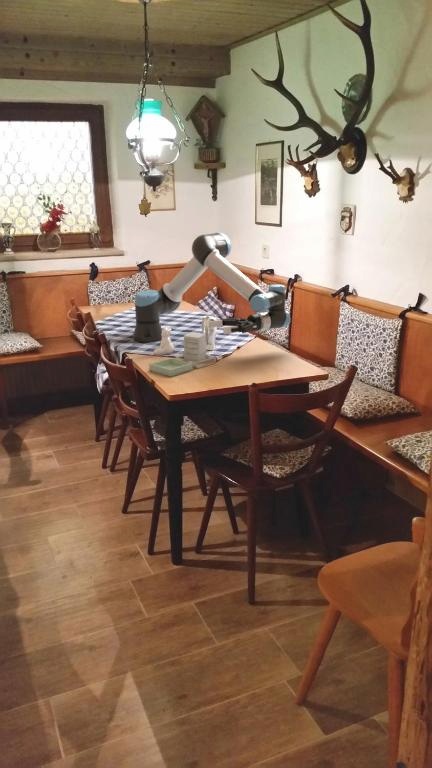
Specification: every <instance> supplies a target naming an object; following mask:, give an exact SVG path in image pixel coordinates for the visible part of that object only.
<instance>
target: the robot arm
mask: <svg viewBox="0 0 432 768" xmlns="http://www.w3.org/2000/svg"><path fill="white" fill-rule="evenodd" d="M231 245H232V243H231V241H230V238H229V237H228V236H227V235H226V234H225V233H221V232H214V233H209V234H208V233H207V234H201V235H198V236H197V237H195V238H194V240H193V242H192V245H191V253H192V258H190V259H189V261H188V262H187V263H186V264H185V266H183V267H182V269H180V271H179V272H178V273H177V274H176V275H175V276H174V277H173V278H172V280H171V281H170V282H166V283H164V284H163V285H162V287H161V288H159V289H158V290H156V289H145V290H140V291H138V292H137V293H136V294H135V296H134V307H135V308H134V311H135V326H134V331H133V333H132V339H133V341H135V342H139V343H140V342H141V343H153V342H159V341H160V342H161V340H162V336H161V334H162V331H163V329H162V326H161V323H160V316H161V315H164V314H168V313H172V312H175V311H176V310H177V309H179V307H180V306H181V303H182V302H181V301H182V300H183V295H184V293H186V292H187V291H188V290H189V288H191V286H192V285H193V284H194V283H195V282H196V281H197V280H198V279H199V278H200V277H201V276H202V275H203V273H204V272H205V271H207V269H209V270H210V271H212V272H213V273H214V274H215V275H217V277H219V278H220V279H221V280H223V281H224V283H226V284H228V285H229V286H230V287H231V288H232V289H233V290H234V291H236V292H237V293H238V294H239V295H241V297H243V298H244V299H245V300H246V301H248V303H249V306H250V308H251V310H252V311H253V312H254V313H252V314H249V315H248V316H247V318H242V317H239V318H237V317H234V318H220V319H217V321H209V328H212V327H217V328H218V327H219V328H220V327H221V328H222V327H223V335H227V334H234V333H235V334H236V333H241V334H244V333H248V332H258V331H262V332H264V331H265V330H272V329H281V328H285V327H288V326H289V325H290V323H291V314H290V312H289V311H288V310H286V286H285V285H284V284H270V285H269V286H268V289H267V291H266V292H265V291H264V290H263V289H262V288H261V287H259V286H258V285H257V284H256V283H254V282H253V281H252V280H251V279H250V278H249V277H247V276H246V275H245V274H243V273H242V272H241V271H240V270H239V269H238V268H237V267H235V266H234V265H233V264H232V263H230V262H229V261H228V260H227V259H226V257H228V256H229V255H230V253H231V251H232V246H231Z"/></svg>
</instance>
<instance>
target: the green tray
mask: <svg viewBox="0 0 432 768" xmlns="http://www.w3.org/2000/svg"><path fill="white" fill-rule="evenodd" d="M175 358H176V357H174V358H173V357H168V358H166V359H163V360H158V361H155V362H151V363H149V364H148V366H149V367H148V369H149V372H151V373H155V374H159V375H162V376H166V377H168V378H172V377H175V376H179V375H182V374H184V373H188V372H191V371H193V370H194V369H193V366H192V363H190V362H186V361H182V360H178V359H175Z"/></svg>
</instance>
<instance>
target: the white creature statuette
mask: <svg viewBox="0 0 432 768" xmlns="http://www.w3.org/2000/svg"><path fill="white" fill-rule="evenodd" d="M171 331H172V327H171V328H169V327H167V326H165V327H163V329H162V334H161V336H162V340H160V345H159V346H158V348H155V349H154V350H153V354H154V355H155V356H156V355H169V354H170V355H171V354H172V353H173V352H174V351H175V345H174V344H173V343H172V339H171V337H170V336H171Z"/></svg>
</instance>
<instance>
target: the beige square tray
mask: <svg viewBox="0 0 432 768" xmlns="http://www.w3.org/2000/svg"><path fill="white" fill-rule="evenodd" d="M174 358H175V359H178V360H182V361H186V362H190V363H192V366H193V370H197V369H201V368H204V367H207V366H210V365H213V364H214V365H215V364H216V363H217V357H216V356H213V355H209V354H206V360H203V361H199V362H196V363H195V362H191V361H187V360H184V354H183V355H180V356H177V357H174Z"/></svg>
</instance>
